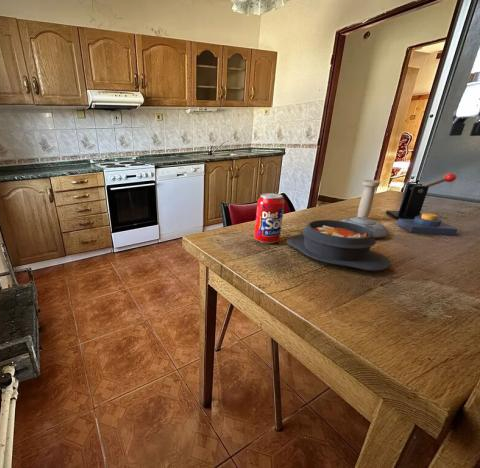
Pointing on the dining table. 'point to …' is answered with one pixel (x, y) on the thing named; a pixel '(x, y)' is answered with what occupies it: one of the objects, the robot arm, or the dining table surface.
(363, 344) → the dining table surface
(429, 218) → the button
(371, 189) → the handle
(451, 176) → the lever
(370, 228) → the flying saucer
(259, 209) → the soda can
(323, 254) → the casserole
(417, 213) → the bracket
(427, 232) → the button box
